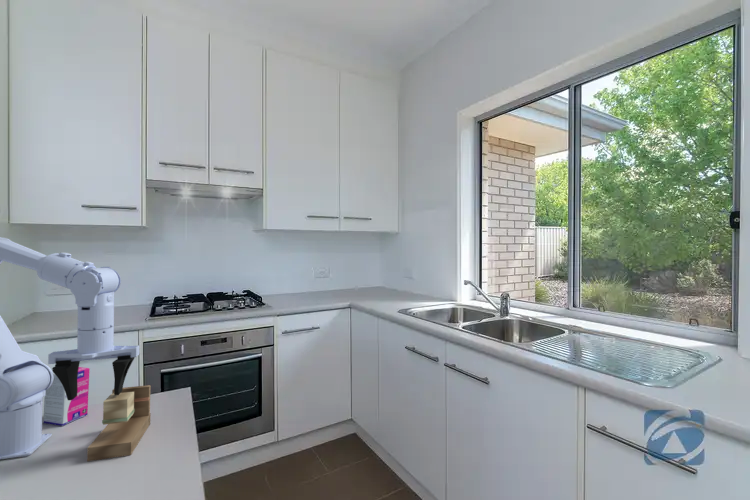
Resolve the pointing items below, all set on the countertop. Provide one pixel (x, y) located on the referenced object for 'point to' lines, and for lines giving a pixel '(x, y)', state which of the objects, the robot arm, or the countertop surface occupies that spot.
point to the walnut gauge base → (123, 429)
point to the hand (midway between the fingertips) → (95, 395)
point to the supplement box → (66, 401)
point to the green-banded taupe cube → (118, 408)
